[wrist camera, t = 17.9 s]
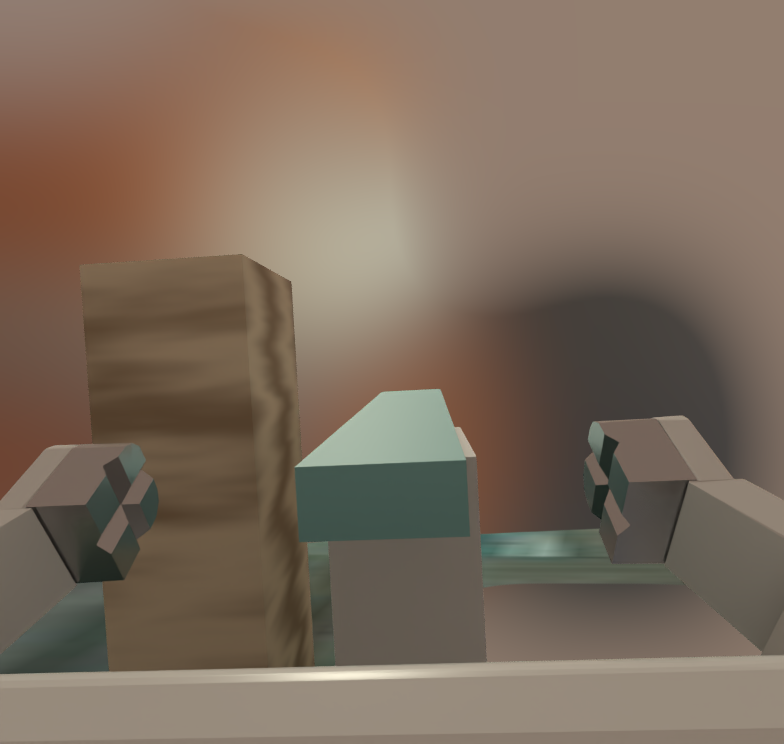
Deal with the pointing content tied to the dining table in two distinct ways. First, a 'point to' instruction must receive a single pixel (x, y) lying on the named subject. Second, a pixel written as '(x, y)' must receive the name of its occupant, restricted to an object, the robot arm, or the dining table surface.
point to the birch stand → (203, 460)
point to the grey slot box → (411, 595)
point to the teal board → (386, 474)
